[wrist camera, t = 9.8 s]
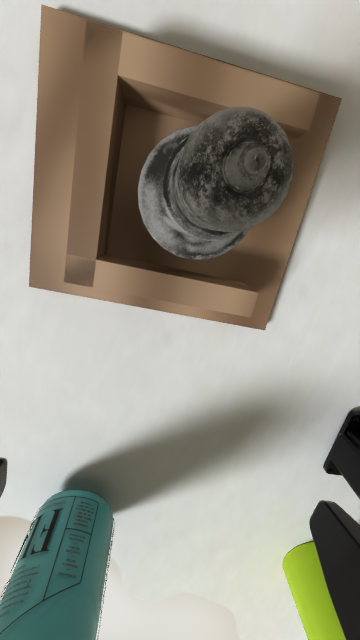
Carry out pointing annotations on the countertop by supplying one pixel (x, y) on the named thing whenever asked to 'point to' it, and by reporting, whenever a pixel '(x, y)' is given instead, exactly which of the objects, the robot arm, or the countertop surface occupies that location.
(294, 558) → the soap dispenser
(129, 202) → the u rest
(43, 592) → the beverage bottle
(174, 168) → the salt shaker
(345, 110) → the countertop surface
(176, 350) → the countertop surface
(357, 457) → the robot arm
